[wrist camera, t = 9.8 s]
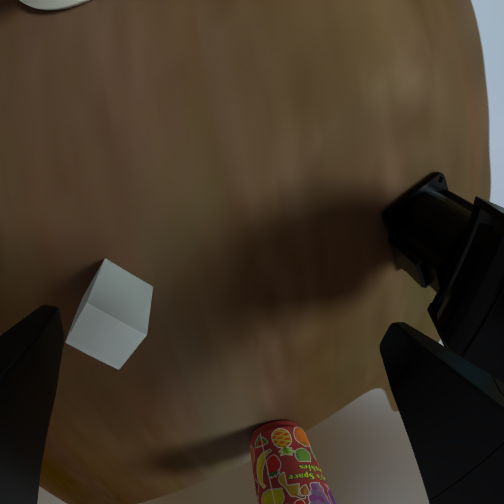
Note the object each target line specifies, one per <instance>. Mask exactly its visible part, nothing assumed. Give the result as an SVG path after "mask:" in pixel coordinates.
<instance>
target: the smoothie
mask: <svg viewBox="0 0 504 504" xmlns="http://www.w3.org/2000/svg"><path fill="white" fill-rule="evenodd" d="M249 446H250V453H251V460H252V467H253V473H254V480H255V487H256V493H257V499H258V504H336V502H335V500H334V498H333V496H332V494H331V491H330V489H329V487H328V485H327V482H326V480H325V478H324V476H323V473H322V471H321V469H320V466H319V464H318V462H317V460H316V457H315V455H314V453H313V450H312V449H311V446H310V443H309V441H308V439H307V436H306V434H305V432H304V430H303V429H301V428H300V427H298V425H297V424H296V423H295V422H293V421H289V420H279V421H273V422H270V423H267V424H264V425H262V426H260V427H259V428H257V429H256V430H255V431H254V432H253V434H252V440H251V441H250V445H249Z"/></svg>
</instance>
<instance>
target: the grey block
mask: <svg viewBox="0 0 504 504" xmlns="http://www.w3.org/2000/svg"><path fill="white" fill-rule="evenodd" d="M152 292H153V286H151V285H149V284H147V283H146V282H144V281H142V280H141V279H139V278H137V277H135V276H134V275H132V274H130V273H129V272H127V271H125V270H124V269H122V268H120V267H119V266H117V265H115V264H114V263H112V262H111V261H109V260H107V259H106V258H105V259H104V261H103V263H102V264H101V266H100V268H99V269H98V271H97V273H96V275H95V276H94V278H93V280H92V281H91V283H90V285H89V287H88V289H87V290H86V292H85V294H84V296H83V298H82V300H81V303H80V305H79V308H78V310H77V313H76V315H75V318H74V320H73V323H72V325H71V328H70V331H69V333H68V336H67V339H66V342H65V343H67V344H69V345H71V346H73V347H74V348H76V349H78V350H80V351H82V352H84V353H86V354H88V355H90V356H92V357H94V358H96V359H98V360H100V361H102V362H104V363H106V364H108V365H110V366H112V367H114V368H116V369H118V370H119V369H120V368H121V367H122V366H123V364H124V363H125V362H126V361H127V359H128V358H129V357H130V356H131V354H132V353H133V352H134V351H135V349H136V348H137V347H138V346H139V344H140V343H141V342H142V341H143V339H144V338H145V337H146V336H147V331H148V323H149V315H150V307H151V300H152Z"/></svg>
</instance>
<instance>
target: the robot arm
mask: <svg viewBox="0 0 504 504" xmlns="http://www.w3.org/2000/svg"><path fill="white" fill-rule="evenodd" d="M439 177H440V178H439ZM438 179H439V180H438ZM389 214H390V216H389V217H388V215H389ZM387 217H388V218H387ZM382 219H383V221H384V224H385V226H386V229H387V231H388V234H389V236H390V237H389V238H388V242H389V245H390V247H391V250H392V252H393V255H394V257H395V260H396V262H397V263H398V264H399V265H400V266H401V267H402V269H403V270H404V271H406V272H407V273H408V274H409V275H410V276H411V277H412V278H413V279H414V280H415V281H416V282H417V283H418V284H419V285H420V286H421V287H423V288H427V287H428V286H429V285H430V286H431V287H432V288H433V289H434V290H435V291H436V292H437V294H436V296H435V298H434V300H433V301H432V303H430V305H429V307H428V309H427V311H428V313H429V315H430V317H431V319H432V321H433V323H434V325H435V327H436V329H437V332H438V334H439V336H440V338H441V340H442V342H443V345H444V346H442V345H441V344H439V343H438V342H436V341H434V340H433V339H431V338H429V337H428V336H426V335H424V334H423V333H421V332H419V331H418V330H416V329H414V328H413V327H411V326H409V325H408V324H406V323H404V322H396V323H392V324H391V325H390V326H389V328H388V330H387V332H386V334H385V335H384V337H383V339H382V341H381V343H380V353H381V356H382V359H383V363H384V366H385V370H386V373H387V377H388V380H389V384H390V387H391V390H392V393H393V396H394V399H395V402H396V404H397V407H398V410H399V412H400V415H401V418H402V420H403V423H404V426H405V429H406V432H407V434H408V437H409V440H410V443H411V446H412V449H413V452H414V455H415V458H416V461H417V464H418V467H419V470H420V473H421V476H422V480H423V483H424V486H425V490H426V493H427V496H428V500H429V504H504V208H503V207H500V206H498V205H496V204H493V203H491V202H489V201H486V200H484V199H482V198H479V197H477V196H476V197H475V200H474V203H473V204H472V203H470V202H468V201H466V200H465V199H463V198H461V197H459V196H457V195H456V194H454V193H452V192H450V191H448V187H447V184H446V180H445V176H444V174H442V173H440V172H436V173H435V174H434V175H432V176H431V177H430V178H428V179H427V180H425V181H424V182H423V183H421V184H420V185H419V186H417V187H416V188H415V189H413V190H412V191H411V192H409V193H408V194H406V195H405V196H404V197H402V198H401V199H400V200H398V201H397V202H395V203H394V204H393V205H391V206H390V207H388V208H387V209H386V210H385V211H384V212H383V213H382ZM64 340H65V334H64V328H63V324H62V319H61V314H60V310H59V308H58V307H56V306H50V305H42V306H41V307H39V308H38V309H36V310H35V311H33V312H32V313H31V314H29V315H28V316H27V317H25V318H24V319H22V320H21V321H20V322H18V323H17V324H16V325H14V326H13V327H11V328H10V329H9V330H7V331H6V332H5V333H3V334H2V335H1V336H0V504H37V500H38V490H39V482H40V474H41V467H42V460H43V454H44V448H45V443H46V437H47V432H48V427H49V422H50V418H51V413H52V409H53V404H54V400H55V395H56V390H57V383H58V376H59V369H60V363H61V357H62V351H63V346H64Z"/></svg>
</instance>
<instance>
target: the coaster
mask: <svg viewBox="0 0 504 504" xmlns="http://www.w3.org/2000/svg"><path fill="white" fill-rule="evenodd" d="M20 1H21V2H23V3H24V4H26V5H28V6H30V7H33V8H35V9H40V10H49V11H52V10H62V9H68V8H71V7H75V6H79V5H81V4H84V3H87V2H89V1H91V0H20Z"/></svg>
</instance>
